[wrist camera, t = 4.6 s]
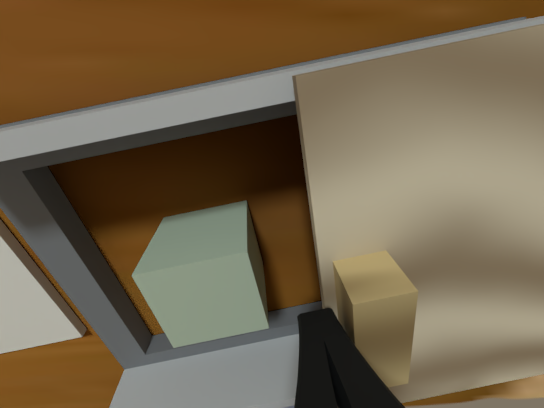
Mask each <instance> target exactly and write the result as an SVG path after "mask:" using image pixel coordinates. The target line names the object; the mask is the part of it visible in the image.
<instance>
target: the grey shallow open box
mask: <svg viewBox="0 0 544 408" xmlns="http://www.w3.org/2000/svg"><path fill="white" fill-rule="evenodd" d="M539 24H544V16H541V17H536V18H530V19H526V17H521V18H516V19H511V20H506V21H501V22H495V23H491V24H486V25H481V26H476V27H471V28H467V29H462V30H457V31H452V32H447V33H442V34H438V35H433V36H428V37H423V38H418V39H414V40H409V41H404V42H399V43H394V44H389V45H385V46H380V47H375V48H370V49H365V50H361V51H356V52H351V53H346V54H341V55H336V56H332V57H327V58H322V59H317V60H312V61H308V62H303V63H298V64H293V65H288V66H284V67H279V68H274V69H269V70H264V71H259V72H255V73H250V74H245V75H240V76H235V77H231V78H226V79H221V80H216V81H211V82H206V83H202V84H197V85H192V86H187V87H182V88H178V89H173V90H168V91H163V92H158V93H153V94H149V95H144V96H139V97H134V98H129V99H125V100H120V101H115V102H110V103H105V104H101V105H96V106H91V107H86V108H81V109H76V110H72V111H67V112H62V113H57V114H52V115H48V116H43V117H38V118H33V119H28V120H23V121H19V122H14V123H9V124H4V125H0V208H1V209H2V210H3V212H4V213H5V214H6V216H7V217H8V218H9V220H10V221H11V222H12V224H13V225H14V226H15V227H16V229H17V230H18V231H19V233H20V234H21V235H22V237H23V238H24V239H25V240H26V242H27V243H28V244H29V246H30V247H31V248H32V250H33V251H34V252H35V253H36V255H37V256H38V257H39V259H40V260H41V261H42V263H43V264H44V265H45V267H46V268H47V269H48V270H49V272H50V273H51V274H52V276H53V277H54V278H55V280H56V281H57V282H58V283H59V285H60V286H61V287H62V289H63V290H64V291H65V293H66V294H67V295H68V296H69V298H70V299H71V300H72V302H73V303H74V304H75V306H76V307H77V308H78V310H79V311H80V312H81V313H82V315H83V316H84V317H85V319H86V320H87V321H88V323H89V324H90V325H91V326H92V328H93V329H94V330H95V332H96V333H97V334H98V336H99V337H100V338H101V339H102V341H103V342H104V343H105V345H106V346H107V347H108V349H109V350H110V351H111V353H112V354H113V355H114V356H115V358H116V359H117V360H118V362H119V363H120V364H121V366H122V367H123V368H124V369H125V370H124V372H123V375H122V377H121V380H120V382H119V385H118V387H117V389H116V392H115V394H114V397H113V399H112V402H111V404H110V407H109V408H284V407H288V406H293V405H295V396H296V387H297V377H298V361H299V327H298V319H297V316H298V315H299V314H301V313H306V312H310V311H315V310H320V309H323V307H322V301H319V302H314V303H309V304H304V305H299V306H294V307H290V308H285V309H280V310H275V311H270V312H268V320H269V328H268V329H263V330H259V331H254V332H249V333H244V334H239V335H234V336H229V337H225V338H220V339H215V340H210V341H205V342H200V343H195V344H191V345H186V346H181V347H176V348H173V346H172V344H171V343H170V341H169V339H168V337H167V336H166V334H165V333H163V334H158V335H153V336H152V335H151V333H150V332H149V330H148V328H147V327H146V325H145V323H144V322H143V320H142V319H141V317H140V315H139V314H138V312H137V311H136V309H135V307H134V306H133V304H132V302H131V301H130V299H129V298H128V296H127V294H126V293H125V291H124V290H123V288H122V286H121V285H120V283H119V281H118V280H117V278H116V277H115V275H114V273H113V272H112V270H111V268H110V267H109V265H108V264H107V262H106V260H105V259H104V257H103V256H102V254H101V252H100V251H99V249H98V247H97V246H96V244H95V243H94V241H93V239H92V238H91V236H90V235H89V233H88V231H87V230H86V228H85V226H84V225H83V223H82V222H81V220H80V218H79V217H78V215H77V214H76V212H75V210H74V209H73V207H72V205H71V204H70V202H69V201H68V199H67V197H66V196H65V194H64V192H63V191H62V189H61V188H60V186H59V184H58V183H57V181H56V180H55V178H54V176H53V175H52V173H51V171H50V170H49V168H48V167H47V166H49V165H54V164H59V163H64V162H69V161H74V160H78V159H83V158H88V157H93V156H98V155H103V154H107V153H112V152H117V151H122V150H127V149H131V148H136V147H141V146H146V145H151V144H156V143H160V142H165V141H170V140H175V139H180V138H185V137H189V136H194V135H199V134H204V133H209V132H214V131H218V130H223V129H228V128H233V127H238V126H242V125H247V124H252V123H257V122H262V121H267V120H271V119H276V118H281V117H286V116H291V115H296V114H297V110H296V103H295V95H294V88H293V80H292V76H293V75H298V74H303V73H308V72H312V71H317V70H322V69H327V68H332V67H336V66H341V65H346V64H351V63H356V62H361V61H365V60H370V59H375V58H380V57H385V56H389V55H394V54H399V53H404V52H409V51H414V50H418V49H423V48H428V47H433V46H438V45H442V44H447V43H452V42H457V41H462V40H467V39H471V38H476V37H481V36H486V35H491V34H495V33H500V32H505V31H510V30H515V29H520V28H524V27H529V26H534V25H539Z"/></svg>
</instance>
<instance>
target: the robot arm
mask: <svg viewBox="0 0 544 408" xmlns="http://www.w3.org/2000/svg"><path fill="white" fill-rule="evenodd" d="M297 319H298V327H299V361H298V377H297V387H296V396H295V405H293V406H288V407H284V408H405V407H404V406H403V405H402V404H401V402H400V401H399V400H398V399H397V398H396V397H395V396H394V394H393V393H392V392H391V391H390V390H389V388H388V387H387V386H386V385H385V384H384V382H383V381H382V380H381V379H380V378H379V376H378V375H377V374H376V373H375V371H374V370H373V369H372V368H371V366H370V365H369V364H368V362H367V361H366V360H365V358H364V357H363V356H362V354H361V353H360V352H359V350H358V349H357V348H356V346H355V345H354V343H353V342H352V341H351V339H350V338H349V336H348V335H347V333H346V332H345V330H344V329H343V327H342V325H341V324H340V322H339V321H338V319H337V317H336V315H335V313H334V312H333V310H332V309H331V308H325V309H320V310H315V311H310V312H306V313H301V314H299V315H298V316H297ZM337 406H338V407H337Z"/></svg>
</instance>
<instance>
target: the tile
mask: <svg viewBox="0 0 544 408" xmlns="http://www.w3.org/2000/svg"><path fill="white" fill-rule="evenodd" d="M86 330H87V329H86V327H85V326H84V325H83V324H82V322H81V321H80V320H79V318H78V317H77V316H76V315H75V313H74V312H73V311H72V310H71V308H70V307H69V306H68V304H67V303H66V302H65V301H64V299H63V298H62V297H61V296H60V294H59V293H58V292H57V290H56V289H55V288H54V287H53V285H52V284H51V283H50V282H49V280H48V279H47V278H46V276H45V275H44V274H43V273H42V271H41V270H40V269H39V268H38V266H37V265H36V264H35V262H34V261H33V260H32V259H31V257H30V256H29V255H28V254H27V252H26V251H25V250H24V248H23V247H22V246H21V245H20V243H19V242H18V241H17V240H16V238H15V237H14V236H13V234H12V233H11V232H10V231H9V229H8V228H7V227H6V226H5V224H4V223H3V222H2V220H1V219H0V354H1V353H6V352H11V351H16V350H21V349H26V348H31V347H35V346H40V345H45V344H50V343H55V342H60V341H65V340H69V339H74V338H79V337H83V335H84V333H85V332H86Z"/></svg>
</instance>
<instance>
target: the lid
mask: <svg viewBox="0 0 544 408" xmlns="http://www.w3.org/2000/svg"><path fill="white" fill-rule="evenodd" d="M292 80H293V88H294V95H295V103H296V110H297V118H298V125H299V133H300V140H301V148H302V156H303V163H304V171H305V178H306V186H307V193H308V201H309V208H310V216H311V224H312V231H313V239H314V246H315V254H316V261H317V269H318V276H319V284H320V292H321V299H322V307H323V309H325V308H331V309H332V310H333V312H334V313H335V315H336V317H337V319H338V321H339V322H340V324H341V325H342V327H343V329H344V330H345V332H346V333H347V335H348V336H349V338H350V339H351V341H352V342H353V343H354V345H355V346H356V348H357V349H358V350H359V352H360V353H361V354H362V356H363V357H364V358H365V360H366V361H367V362H368V364H369V365H370V366H371V368H372V369H373V370H374V371H375V373H376V374H377V375H378V376H379V378H380V379H381V380H382V381H383V382H384V384H385V385H386V386H387V387H388V388H389V390H390V391H391V392H392V393H393V394H394V396H395V397H396V398H397V399H398V400H399V401H400V402H401V403H404V402H409V401H414V400H419V399H424V398H429V397H434V396H438V395H443V394H448V393H453V392H458V391H463V390H468V389H473V388H478V387H482V386H487V385H492V384H497V383H502V382H507V381H512V380H517V379H522V378H526V377H531V376H536V375H541V374H544V24H539V25H534V26H529V27H524V28H520V29H515V30H510V31H505V32H500V33H495V34H491V35H486V36H481V37H476V38H471V39H467V40H462V41H457V42H452V43H447V44H442V45H438V46H433V47H428V48H423V49H418V50H414V51H409V52H404V53H399V54H394V55H389V56H385V57H380V58H375V59H370V60H365V61H361V62H356V63H351V64H346V65H341V66H336V67H332V68H327V69H322V70H317V71H312V72H308V73H303V74H298V75H293V76H292ZM337 407H338V406H337Z"/></svg>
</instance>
